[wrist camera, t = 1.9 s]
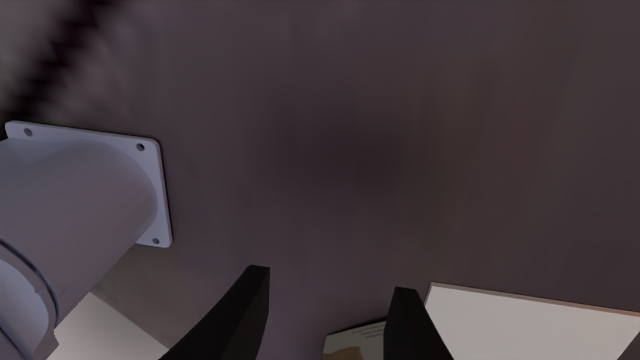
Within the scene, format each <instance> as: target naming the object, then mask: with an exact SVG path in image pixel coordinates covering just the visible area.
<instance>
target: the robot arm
mask: <svg viewBox="0 0 640 360" xmlns="http://www.w3.org/2000/svg"><path fill="white" fill-rule="evenodd" d="M5 129H6V132H7V135H8V139H6V140H3V141H1V142H0V360H46V359H47V358H48V357H49V356H50V355H51V353H52V352H53V351H54V350H55V349H56V348H57V347H58V345H59V343H58V341H57V340H56V338H55V335H54V329H55V328H56V327H57V326H58V325H59V324H60V322H61V321H62V320H63V319H64V318H65V317H66V316H67V315H68V314H69V313H70V312H71V311H72V309H73V308H74V307H75V306H76V305H77V304H78V303H79V302H80V301H81V300H82V299H83V298H84V297H85V296H86V294H88V292H89V291H90V290H91V289H92V288H93V287H94V286H95V285H96V284H97V283H98V282H99V281H100V280H101V279H102V277H103V276H104V275H105V274H106V273H107V272H108V271H109V270H110V269H111V268H112V267H113V266H114V265H115V264H116V262H117V261H118V260H119V259H120V258H121V257H122V256H123V255H124V254H125V253H126V252H127V251H128V250H129V249H130V247H131V246H132V245H133V244H134V243H137V244H143V245H150V246H157V247H163V248H167V247H169V246H170V245H171V243H172V233H171V226H170V219H169V212H168V204H167V197H166V190H165V182H164V175H163V168H162V161H161V153H160V147H159V144H158V143H157V141H155V140H154V139H151V138H143V137H136V136H128V135H121V134H113V133H105V132H98V131H90V130H83V129H75V128H68V127H60V126H53V125H45V124H38V123H30V122H23V121H10V122H7V123H6V124H5ZM30 130H31V131H32V132H31V131H30ZM140 144H142V145H143V146H144V148H145V149H143V148H142V147H141V146H140ZM157 239H158V240H159V241H158V240H157ZM269 282H270V267H263V266H257V265H250V266H248V267H247V268H246V269H245V271H244V272H243V273H242V275H241V276H240V277H239V278H238V280H237V281H236V282H235V283H234V284H233V286H232V287H231V288H230V289H229V290H228V291H227V293H226V294H225V295H224V296H223V297H222V298H221V299H220V300H219V301H218V302H217V304H216V305H215V306H214V307H213V308H212V309H211V310H210V311H209V312H208V313H207V314H206V315H205V316H204V317H203V318H202V319H201V320H200V321H199V322H198V323H197V324H196V325H195V326H194V327H193V328H192V329H191V330H190V331H189V332H188V333H187V334H186V335H185V336H184V337H183V338H182V339H181V340H180V341H179V342H178V343H177V344H175V345H174V346H173V347H172V348H171V349H170V350H169V351H168V352H167V353H166V354H164V355H163V356H162V357H161V358H160V359H158V360H255V359H256V356H257V354H258V351H259V348H260V345H261V341H262V337H263V333H264V329H265V325H266V321H267V317H268V312H269ZM383 360H454V358H453V357H452V355H451V353H450V352H449V350H448V348H447V347H446V345H445V343H444V341H443V340H442V338H441V336H440V334H439V333H438V331H437V329H436V327H435V325H434V323H433V321H432V320H431V318H430V316H429V314H428V312H427V310H426V308H425V306H424V304H423V302H422V300H421V298H420V296H419V294H418V292H417V291H416V290H415V289H409V288H402V287H396V286H395V290H394V294H393V298H392V301H391V305H390V309H389V312H388V316H387V320H386V323H385V327H384V331H383Z"/></svg>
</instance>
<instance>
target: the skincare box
mask: <svg viewBox="0 0 640 360" xmlns="http://www.w3.org/2000/svg"><path fill="white" fill-rule="evenodd" d="M385 323H386V321H384V322H380V323H376V324H371V325H367V326H363V327H359V328H355V329H351V330H347V331H343V332H340V333H336V334H332V335H329V336H327V337H326V340H325V345H324V350H323V355H322V360H383V331H384V327H385Z"/></svg>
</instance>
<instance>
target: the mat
mask: <svg viewBox="0 0 640 360" xmlns="http://www.w3.org/2000/svg"><path fill="white" fill-rule="evenodd" d="M424 306H425V308H426V310H427V312H428V314H429V316H430V318H431V320H432V321H433V323H434V325H435V327H436V329H437V331H438V333H439V334H440V336H441V338H442V340H443V341H444V343H445V345H446V347H447V348H448V350H449V352H450V353H451V355H452V357H453V358H454V360H617V359H618V357H619V356H620V355H621V354H622V352H623V351H624V350H625V349H626V347H627V346H628V345H629V344H630V342H631V341H632V340H633V339H634V337H635V336H636V335H637V334H638V332H639V331H640V313H638V312H631V311H625V310H618V309H611V308H604V307H598V306H591V305H584V304H577V303H571V302H564V301H557V300H551V299H544V298H537V297H530V296H524V295H517V294H510V293H503V292H497V291H490V290H483V289H477V288H470V287H463V286H456V285H450V284H443V283H436V282H431V284H430V287H429V290H428V293H427V296H426V299H425V302H424Z"/></svg>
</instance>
